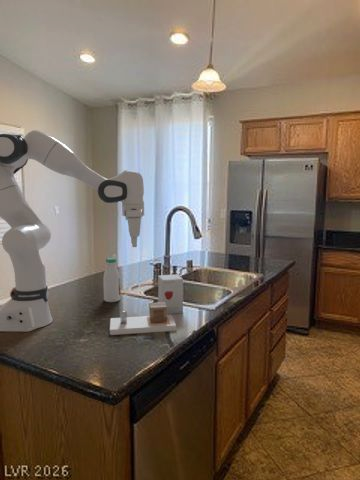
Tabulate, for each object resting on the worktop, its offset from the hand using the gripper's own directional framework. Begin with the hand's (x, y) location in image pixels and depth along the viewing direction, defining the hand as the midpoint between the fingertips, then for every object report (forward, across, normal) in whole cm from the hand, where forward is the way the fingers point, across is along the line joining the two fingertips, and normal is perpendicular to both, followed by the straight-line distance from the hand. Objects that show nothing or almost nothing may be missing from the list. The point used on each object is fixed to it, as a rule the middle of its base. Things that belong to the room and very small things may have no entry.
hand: (134, 245), depth 151 cm
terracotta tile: (+27, +16, +8) cm, 32 cm away
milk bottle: (+29, -21, -10) cm, 37 cm away
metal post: (+27, +15, -5) cm, 32 cm away
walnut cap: (+27, +15, +8) cm, 32 cm away
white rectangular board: (+29, +16, +2) cm, 33 cm away
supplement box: (+29, -1, +15) cm, 33 cm away
